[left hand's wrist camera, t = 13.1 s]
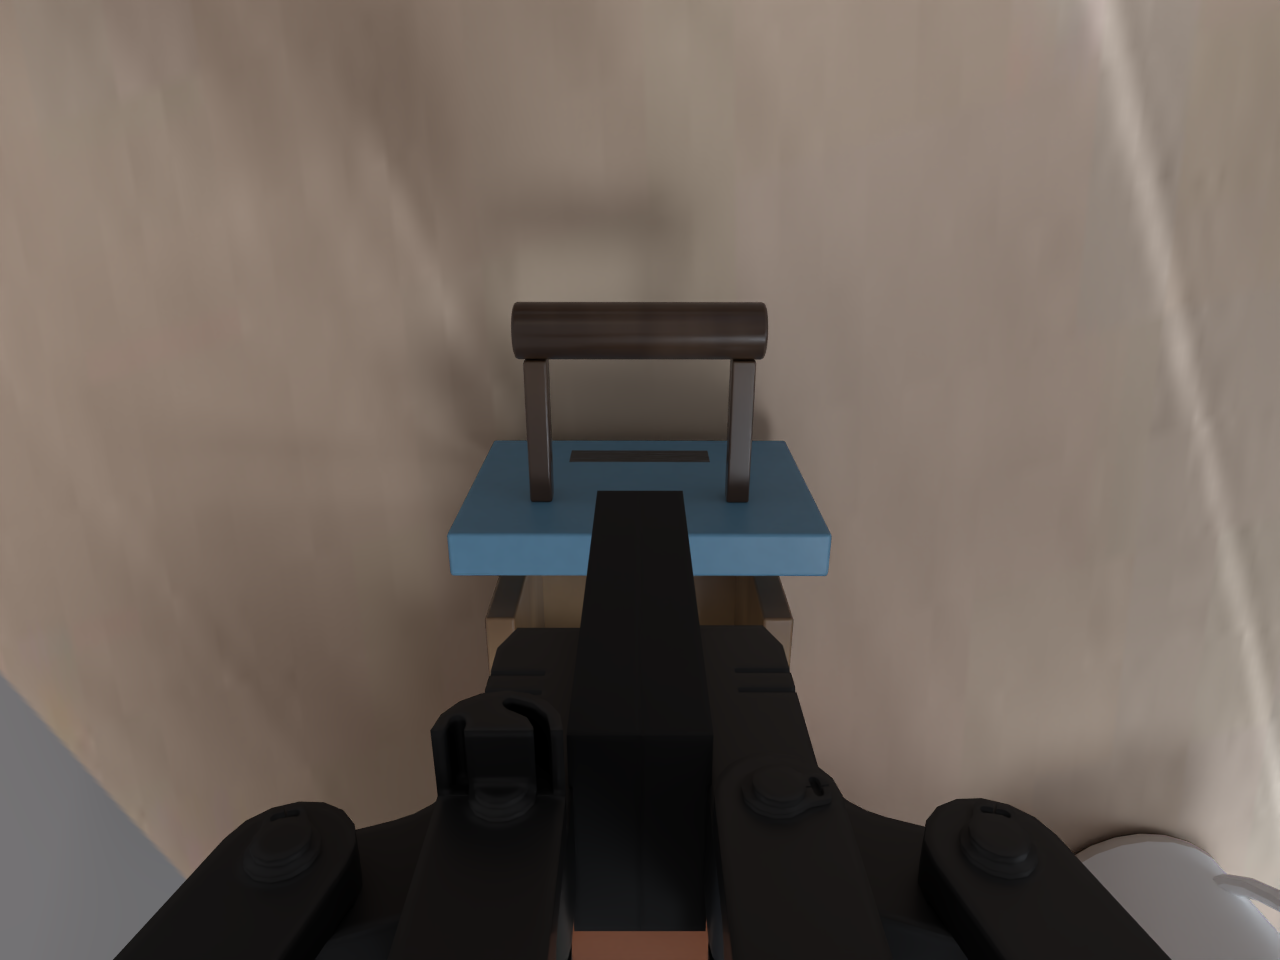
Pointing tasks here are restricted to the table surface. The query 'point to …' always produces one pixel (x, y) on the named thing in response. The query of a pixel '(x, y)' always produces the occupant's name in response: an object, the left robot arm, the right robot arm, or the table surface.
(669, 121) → the table surface
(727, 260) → the table surface
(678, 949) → the cabinet
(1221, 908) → the mug
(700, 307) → the drawer
